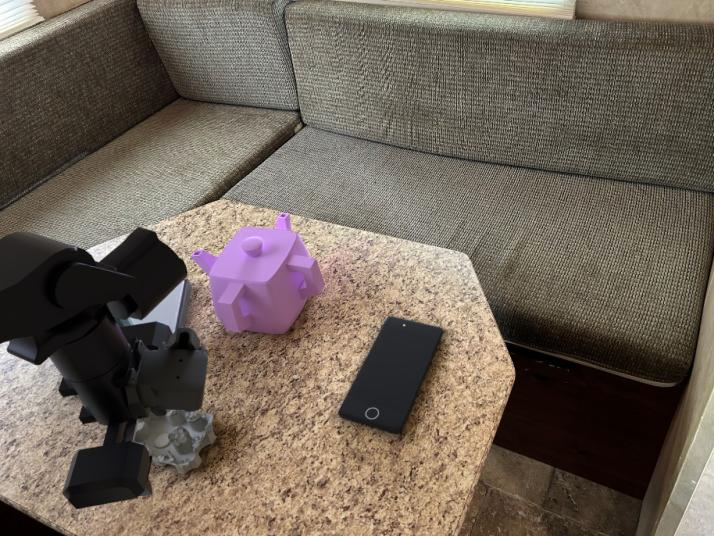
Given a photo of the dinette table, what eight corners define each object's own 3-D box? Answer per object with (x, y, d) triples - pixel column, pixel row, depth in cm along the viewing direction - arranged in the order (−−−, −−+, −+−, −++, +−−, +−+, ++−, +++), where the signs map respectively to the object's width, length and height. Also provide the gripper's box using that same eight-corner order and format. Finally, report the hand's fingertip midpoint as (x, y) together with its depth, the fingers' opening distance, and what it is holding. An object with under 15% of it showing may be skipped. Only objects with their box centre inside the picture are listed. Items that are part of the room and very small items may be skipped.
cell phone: (337, 417, 79) (336, 413, 79) (388, 319, 92) (388, 315, 91) (400, 436, 76) (400, 431, 76) (444, 332, 89) (444, 327, 88)
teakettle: (237, 359, 89) (213, 299, 81) (203, 292, 100) (180, 234, 92) (340, 309, 95) (328, 249, 87) (297, 251, 106) (282, 194, 98)
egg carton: (123, 456, 78) (110, 438, 75) (161, 408, 83) (150, 390, 80) (190, 482, 74) (179, 464, 72) (225, 430, 79) (216, 412, 77)
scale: (75, 398, 86) (67, 386, 84) (107, 300, 101) (101, 289, 99) (175, 381, 86) (169, 369, 85) (191, 287, 102) (187, 275, 100)
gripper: (171, 431, 46) (226, 526, 56) (198, 269, 61) (238, 367, 71) (22, 457, 46) (104, 549, 56) (85, 287, 60) (141, 384, 70)
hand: (155, 452), depth 63 cm, fingers open, 9 cm apart
